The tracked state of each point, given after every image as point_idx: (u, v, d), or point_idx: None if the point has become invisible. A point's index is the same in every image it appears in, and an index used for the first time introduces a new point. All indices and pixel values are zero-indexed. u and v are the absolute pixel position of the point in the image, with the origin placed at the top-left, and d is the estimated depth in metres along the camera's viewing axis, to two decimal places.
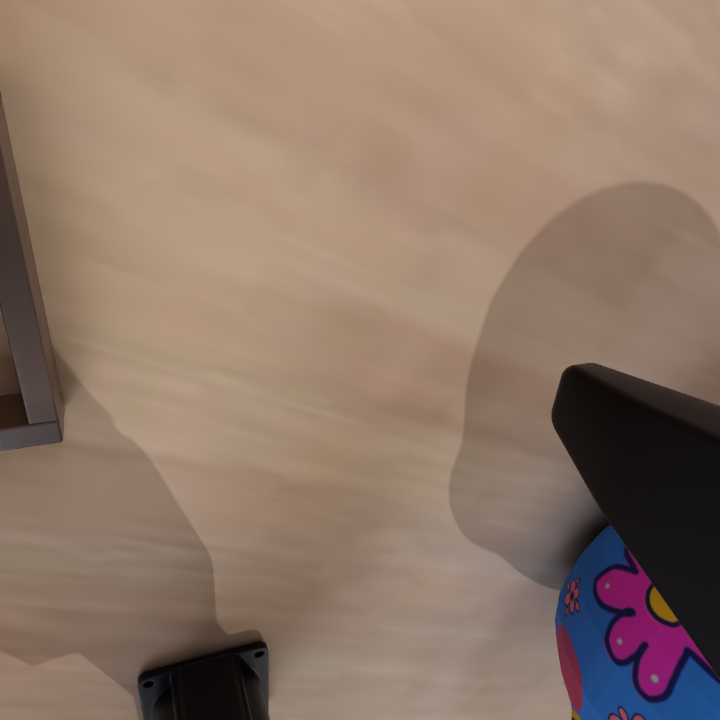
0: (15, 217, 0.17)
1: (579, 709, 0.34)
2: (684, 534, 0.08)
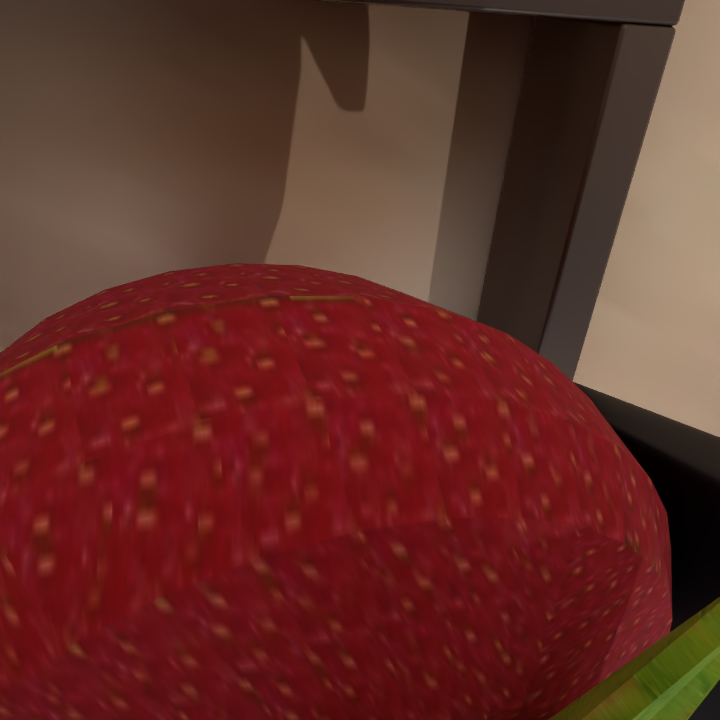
0: (615, 226, 0.10)
1: None
2: None
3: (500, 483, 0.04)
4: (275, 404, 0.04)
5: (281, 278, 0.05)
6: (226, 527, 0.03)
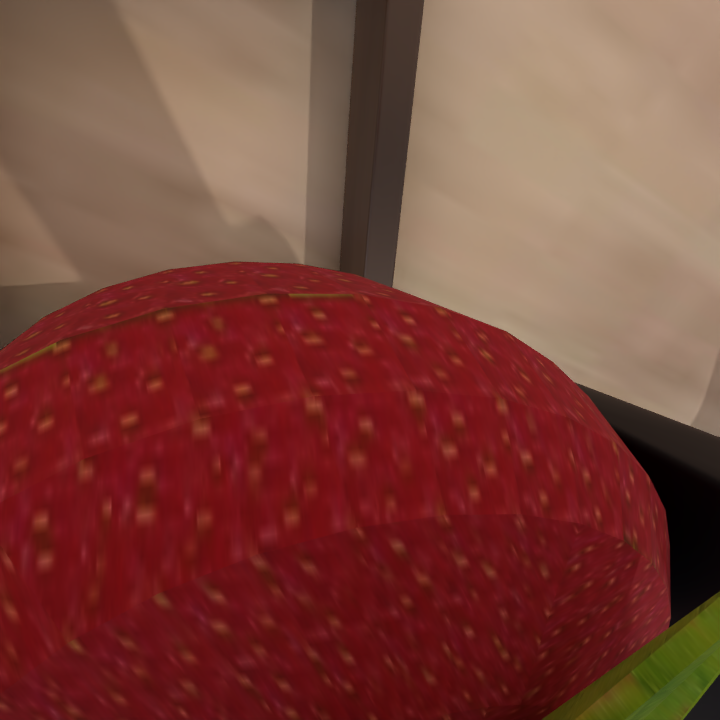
0: (409, 120, 0.15)
1: None
2: None
3: (499, 479, 0.04)
4: (274, 401, 0.04)
5: (280, 276, 0.05)
6: (225, 524, 0.03)
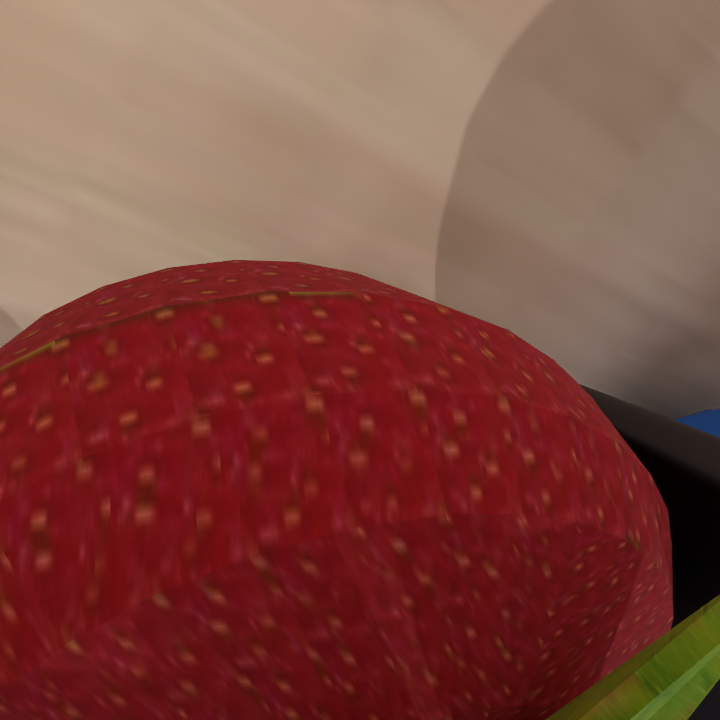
0: None
1: None
2: None
3: (500, 478, 0.04)
4: (273, 399, 0.04)
5: (280, 274, 0.05)
6: (225, 524, 0.03)
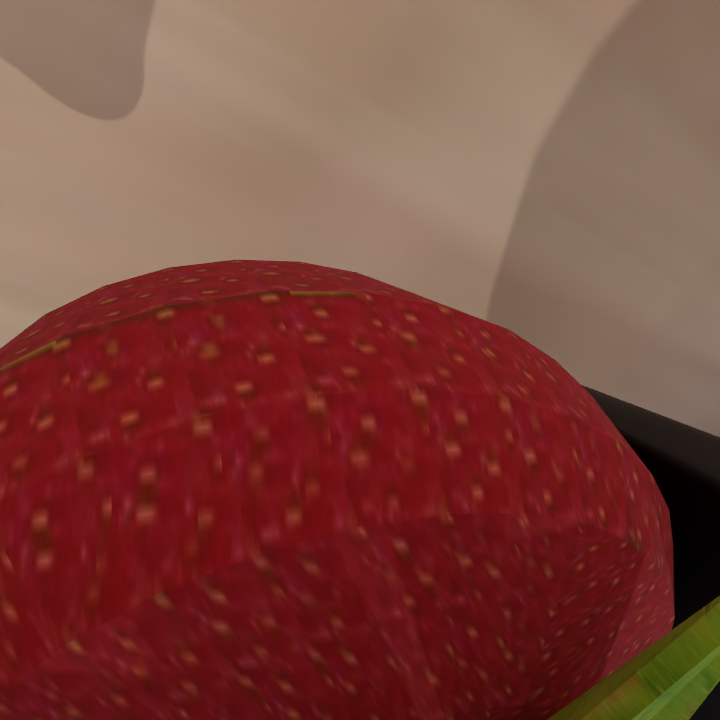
0: None
1: None
2: None
3: (502, 478, 0.04)
4: (275, 399, 0.04)
5: (281, 274, 0.05)
6: (225, 524, 0.03)
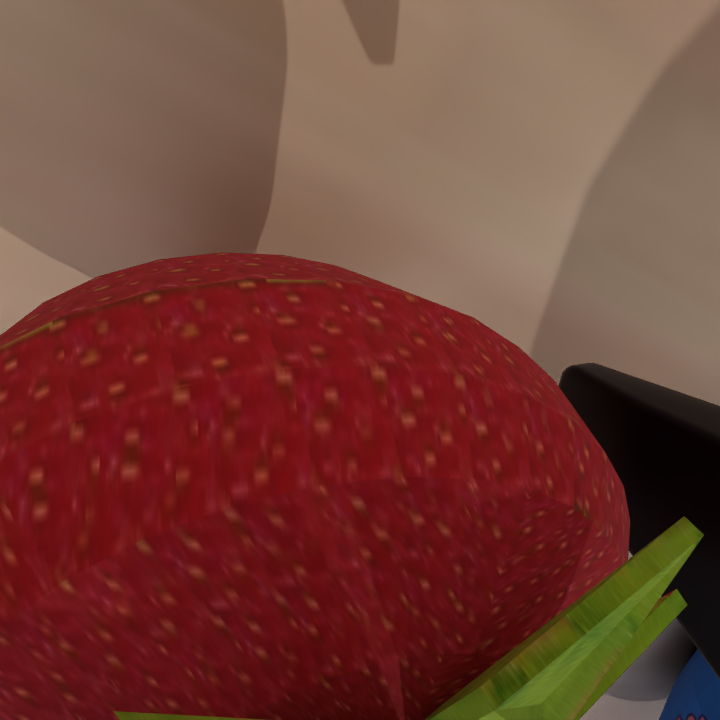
0: None
1: None
2: None
3: (454, 448, 0.04)
4: (248, 372, 0.04)
5: (262, 265, 0.06)
6: (200, 480, 0.04)
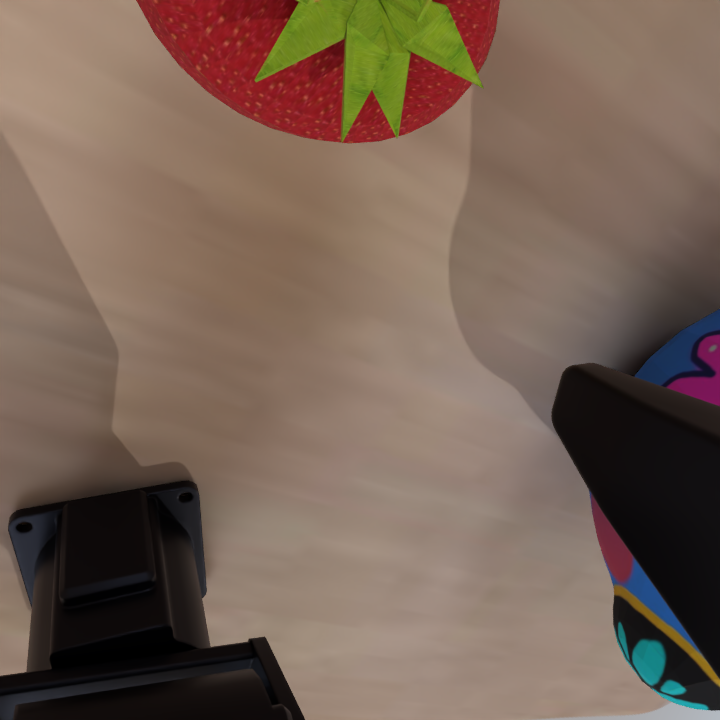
0: None
1: (626, 578, 0.25)
2: (684, 534, 0.08)
3: None
4: None
5: None
6: None
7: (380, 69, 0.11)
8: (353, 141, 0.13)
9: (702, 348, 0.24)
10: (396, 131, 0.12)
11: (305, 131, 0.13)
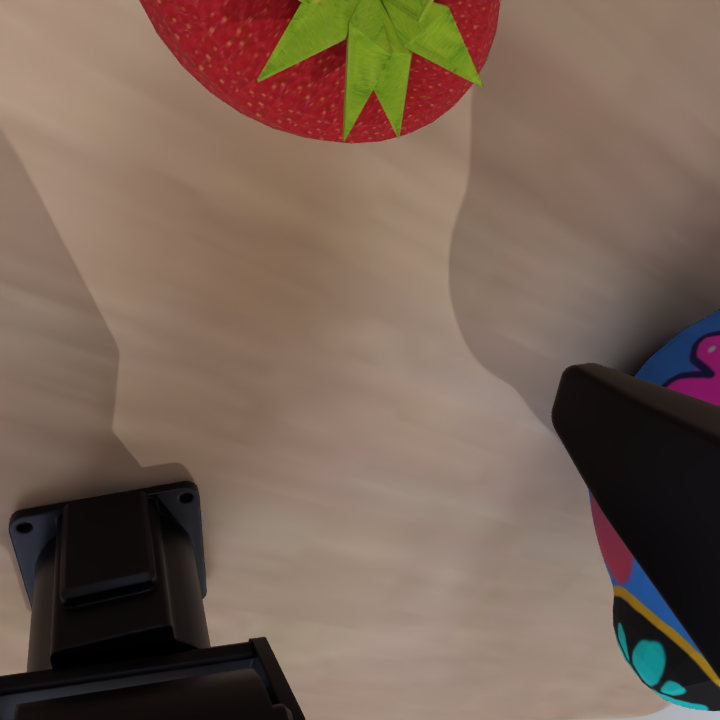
0: None
1: (626, 578, 0.25)
2: (684, 534, 0.08)
3: None
4: None
5: None
6: None
7: (382, 69, 0.11)
8: (354, 141, 0.13)
9: (701, 349, 0.24)
10: (397, 131, 0.12)
11: (307, 131, 0.13)
